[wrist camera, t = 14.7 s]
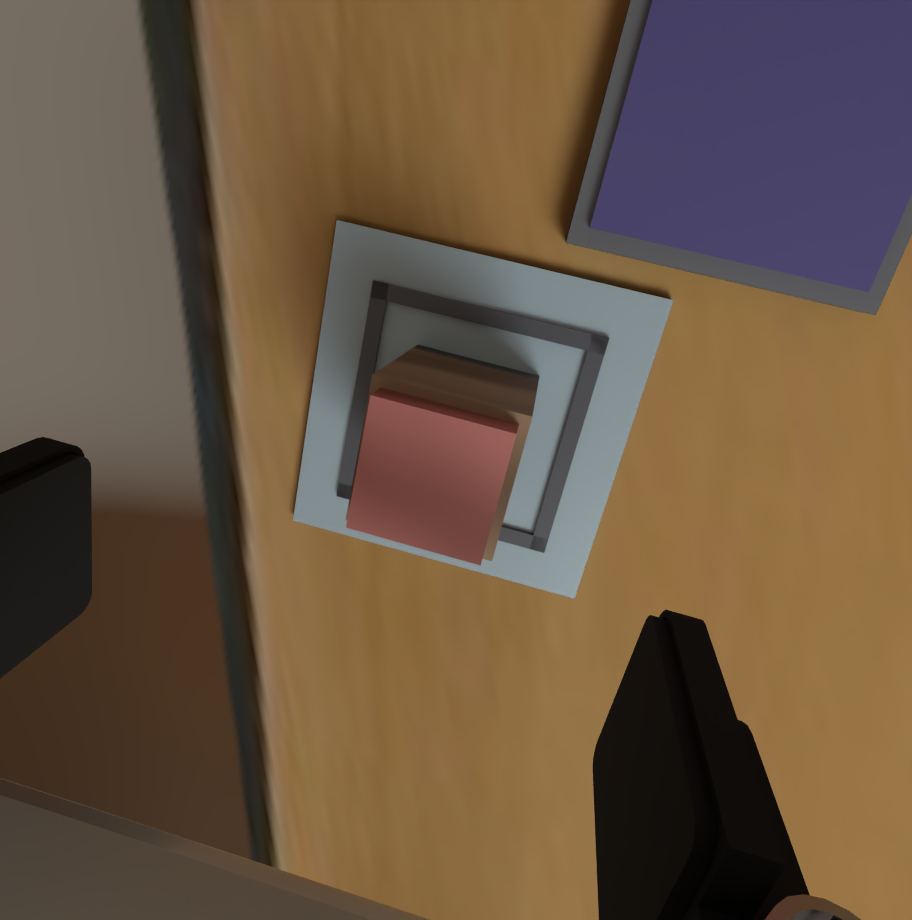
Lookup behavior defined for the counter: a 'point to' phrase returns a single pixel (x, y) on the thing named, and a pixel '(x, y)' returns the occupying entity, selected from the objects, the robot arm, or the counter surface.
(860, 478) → the counter surface
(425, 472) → the stamp
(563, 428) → the light grey flat square
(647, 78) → the ink pad
